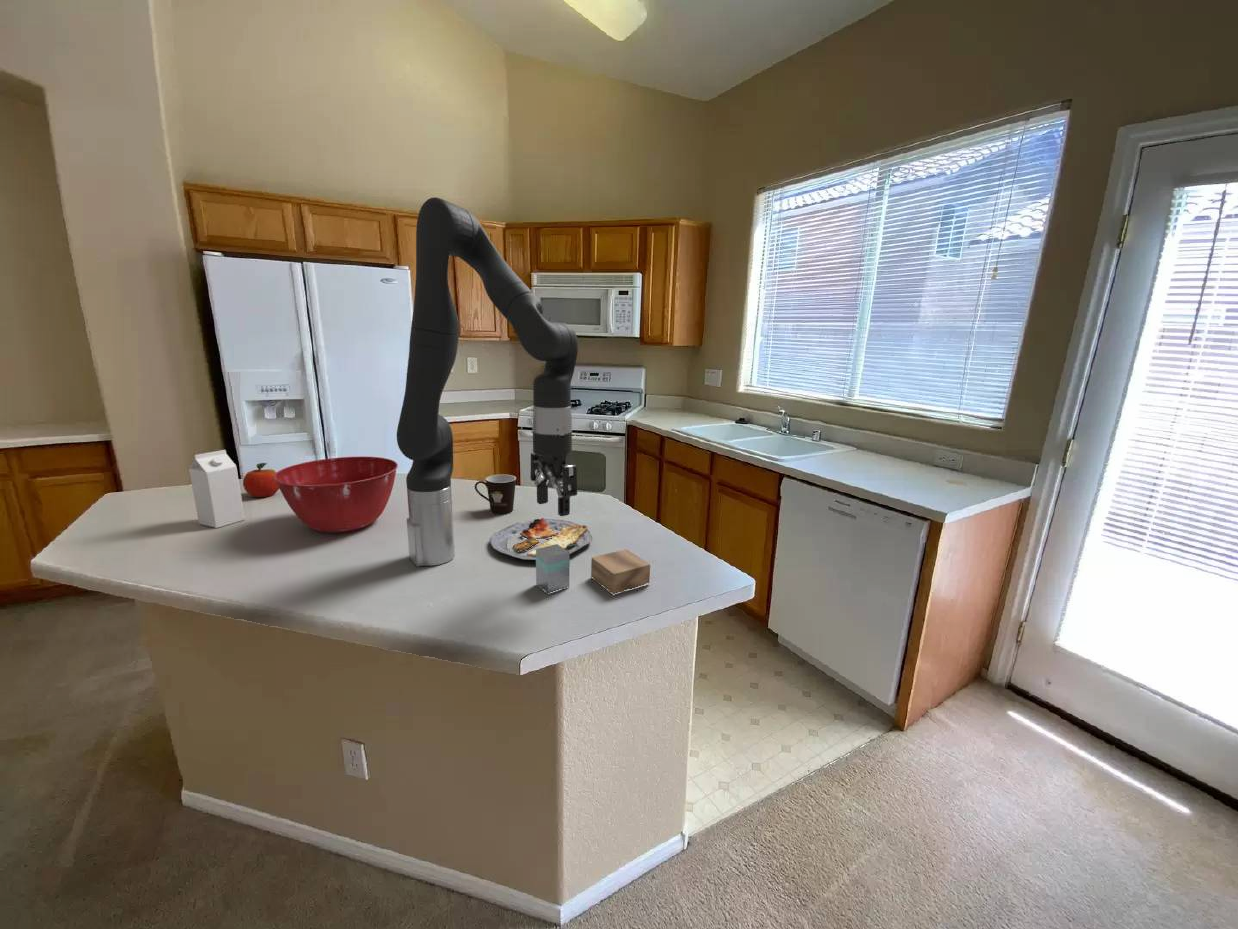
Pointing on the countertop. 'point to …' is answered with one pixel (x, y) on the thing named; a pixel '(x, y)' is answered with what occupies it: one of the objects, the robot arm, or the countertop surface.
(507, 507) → the coffee mug
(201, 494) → the milk carton
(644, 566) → the tan block
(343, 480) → the mixing bowl
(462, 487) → the countertop surface
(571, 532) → the food plate
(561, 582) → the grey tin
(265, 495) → the fruit
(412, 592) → the countertop surface
